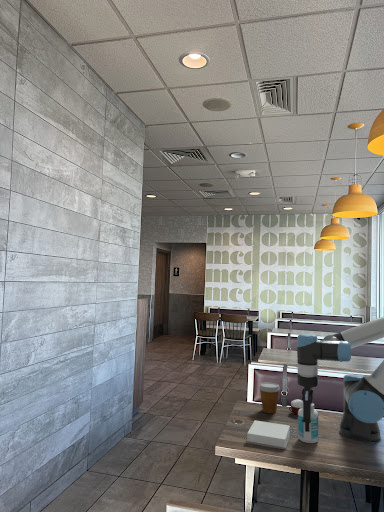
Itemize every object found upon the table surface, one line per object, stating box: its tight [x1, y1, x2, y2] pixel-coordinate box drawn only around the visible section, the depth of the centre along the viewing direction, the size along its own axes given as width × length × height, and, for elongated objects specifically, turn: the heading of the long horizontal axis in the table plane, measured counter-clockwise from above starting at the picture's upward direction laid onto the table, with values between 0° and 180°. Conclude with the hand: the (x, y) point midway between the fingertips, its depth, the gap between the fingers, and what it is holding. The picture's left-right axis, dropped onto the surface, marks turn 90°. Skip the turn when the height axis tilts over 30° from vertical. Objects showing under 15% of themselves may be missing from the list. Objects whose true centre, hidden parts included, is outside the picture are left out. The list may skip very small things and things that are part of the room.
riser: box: [246, 420, 291, 450], centre depth 146 cm, size 14×14×4 cm
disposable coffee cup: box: [258, 381, 281, 414], centre depth 177 cm, size 10×10×12 cm
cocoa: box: [288, 395, 303, 416], centre depth 174 cm, size 10×6×12 cm, turn 86°
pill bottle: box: [297, 402, 319, 444], centre depth 145 cm, size 8×7×14 cm
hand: (308, 435), depth 144 cm, fingers closed on pill bottle, 7 cm apart
